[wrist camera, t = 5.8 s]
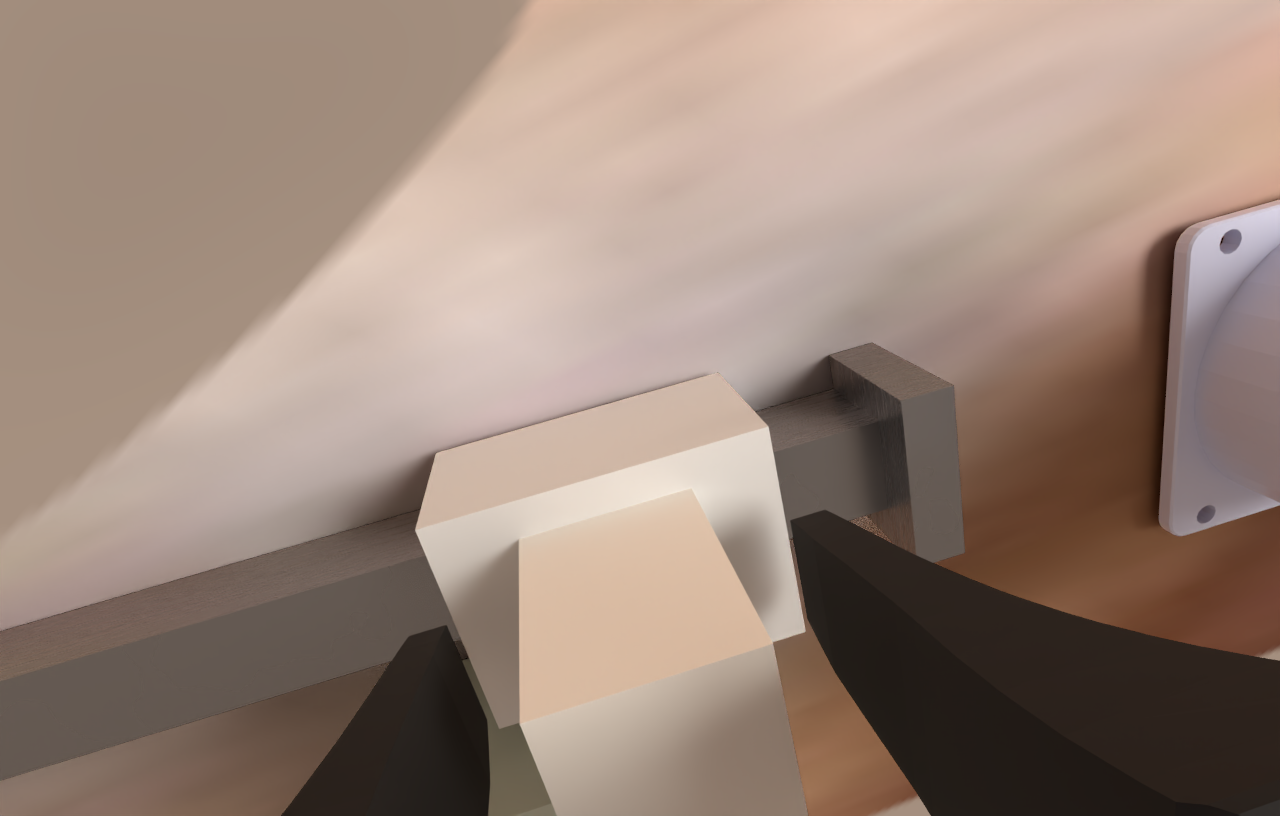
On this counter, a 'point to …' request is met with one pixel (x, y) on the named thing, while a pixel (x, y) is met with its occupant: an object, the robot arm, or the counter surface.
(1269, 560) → the counter surface
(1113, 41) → the counter surface
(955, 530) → the rail
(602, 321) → the counter surface
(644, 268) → the counter surface
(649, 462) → the carriage
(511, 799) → the box
